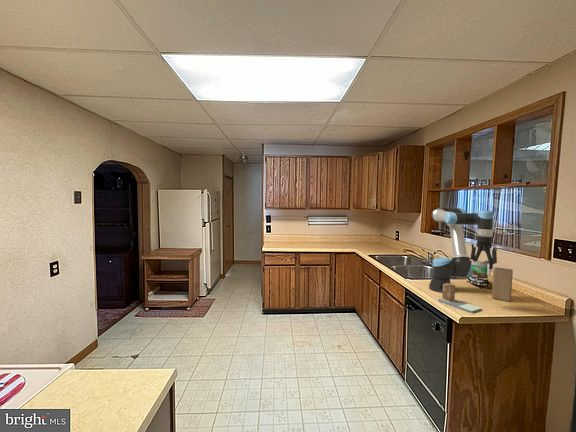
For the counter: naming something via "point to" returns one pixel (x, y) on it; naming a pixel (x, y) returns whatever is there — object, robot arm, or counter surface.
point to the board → (461, 305)
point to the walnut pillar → (448, 292)
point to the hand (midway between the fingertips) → (482, 273)
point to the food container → (480, 269)
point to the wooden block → (502, 284)
